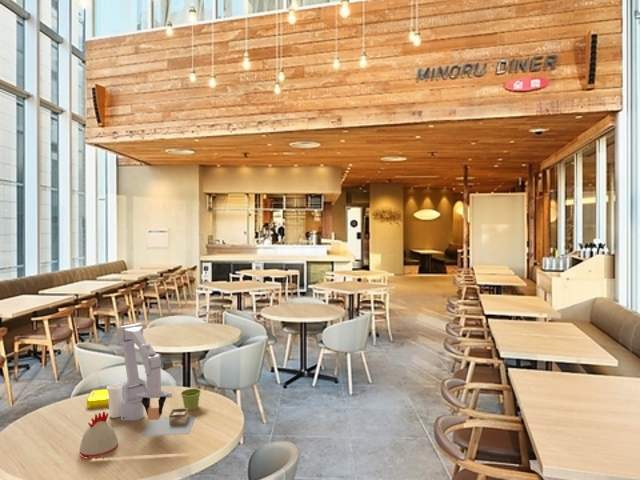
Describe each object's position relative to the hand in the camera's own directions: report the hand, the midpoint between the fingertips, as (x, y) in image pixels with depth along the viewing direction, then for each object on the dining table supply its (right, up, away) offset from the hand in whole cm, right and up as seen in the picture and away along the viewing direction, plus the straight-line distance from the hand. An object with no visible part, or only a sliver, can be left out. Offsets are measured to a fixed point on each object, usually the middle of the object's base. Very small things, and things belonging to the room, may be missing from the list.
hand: (154, 414), depth 201 cm
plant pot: (+9, -7, +25) cm, 28 cm away
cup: (-25, -8, +19) cm, 32 cm away
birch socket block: (+7, -7, +11) cm, 15 cm away
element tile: (-38, -8, +37) cm, 54 cm away
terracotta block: (0, -1, 0) cm, 1 cm away
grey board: (+5, -8, +6) cm, 11 cm away
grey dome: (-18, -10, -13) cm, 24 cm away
